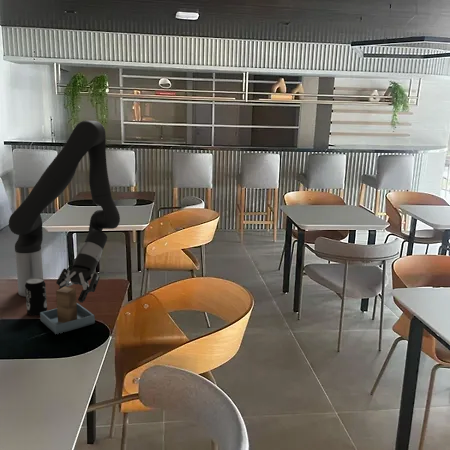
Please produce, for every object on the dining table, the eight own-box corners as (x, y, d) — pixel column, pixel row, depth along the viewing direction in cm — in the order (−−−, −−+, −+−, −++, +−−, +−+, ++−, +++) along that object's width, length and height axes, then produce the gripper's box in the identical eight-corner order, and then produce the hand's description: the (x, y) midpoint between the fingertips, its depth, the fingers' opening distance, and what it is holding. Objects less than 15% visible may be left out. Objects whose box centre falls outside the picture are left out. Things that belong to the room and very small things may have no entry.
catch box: (40, 320, 157) (39, 312, 156) (77, 310, 165) (77, 302, 165) (56, 334, 147) (55, 325, 146) (94, 323, 156) (94, 315, 155)
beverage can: (42, 316, 160) (40, 283, 157) (23, 316, 160) (21, 283, 157) (50, 309, 166) (48, 277, 164) (32, 308, 166) (29, 276, 164)
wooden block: (66, 316, 159) (64, 286, 156) (77, 318, 158) (75, 288, 155) (57, 321, 155) (56, 290, 152) (69, 324, 153) (67, 292, 151)
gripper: (66, 250, 163) (46, 292, 155) (101, 255, 159) (82, 298, 151) (76, 260, 169) (57, 301, 161) (110, 265, 165) (92, 307, 157)
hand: (69, 299), depth 156 cm, fingers open, 8 cm apart
